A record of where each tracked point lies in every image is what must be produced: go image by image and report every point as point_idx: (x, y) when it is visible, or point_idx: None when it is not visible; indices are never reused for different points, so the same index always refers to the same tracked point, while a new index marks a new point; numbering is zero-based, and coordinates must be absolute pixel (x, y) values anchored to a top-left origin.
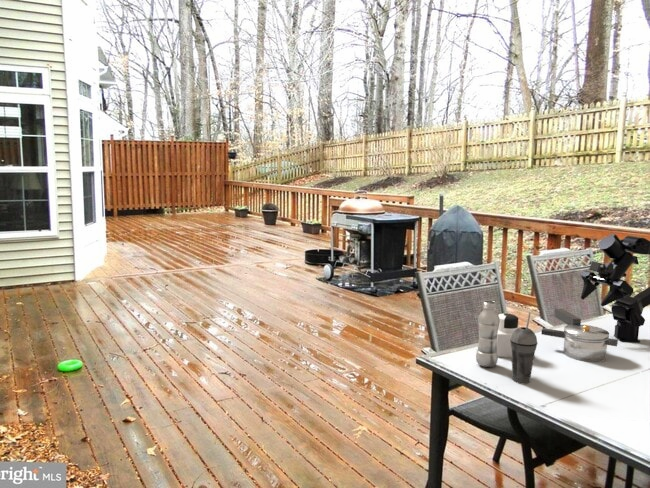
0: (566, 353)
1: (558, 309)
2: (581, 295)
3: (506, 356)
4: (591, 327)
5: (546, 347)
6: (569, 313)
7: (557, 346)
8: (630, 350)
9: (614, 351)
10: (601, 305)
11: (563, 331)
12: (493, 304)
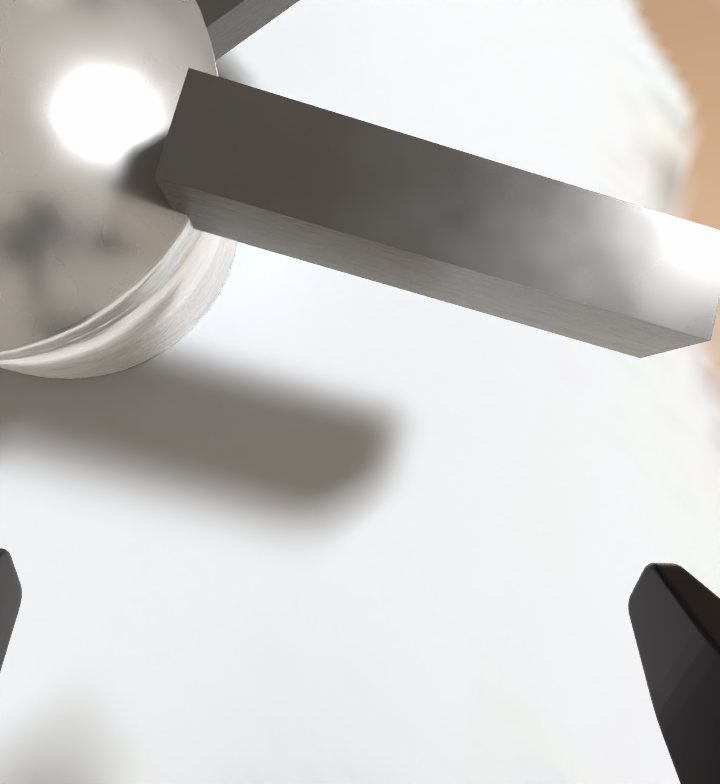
0: None
1: (676, 247)
2: (716, 602)
3: None
4: (27, 258)
5: (321, 54)
6: (452, 241)
7: None
8: (31, 726)
9: (58, 551)
10: (9, 567)
11: (205, 17)
12: None
